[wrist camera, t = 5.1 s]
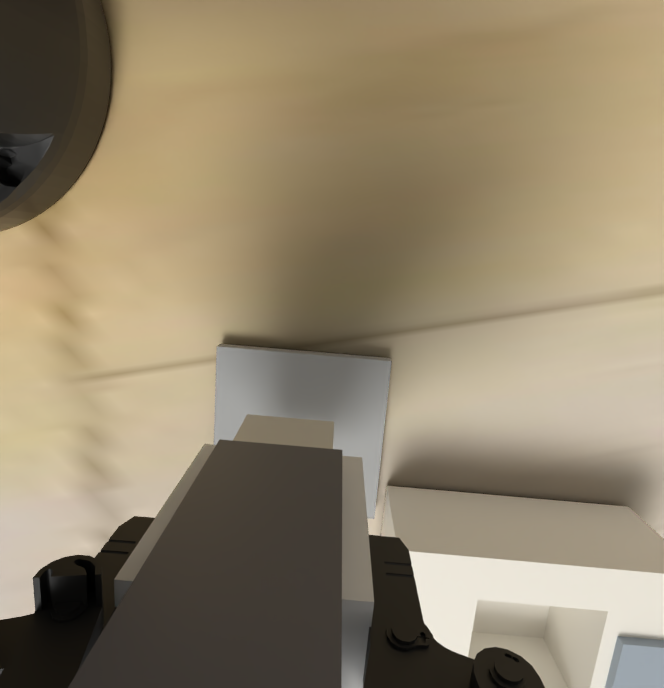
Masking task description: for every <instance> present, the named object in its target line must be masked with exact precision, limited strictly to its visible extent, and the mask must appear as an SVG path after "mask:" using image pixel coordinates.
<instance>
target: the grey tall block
mask: <svg viewBox="0 0 664 688" xmlns="http://www.w3.org/2000/svg"><path fill="white" fill-rule="evenodd" d="M333 438H334V422H333V421H321V420H309V419H298V418H286V417H274V416H262V415H250V414H247V415H246V417H245V419H244V421H243V423H242V425H241V426H240V428H239V430H238V432H237V434H236V436H235V438H234V439H233V440H221V439H219V441H218V443H217V444H216V446H215V448H214V449H213V451H212V453H211V454H210V456H209V457H208V459H207V461H206V462H205V464H204V466H203V467H202V469H201V471H200V472H199V474H198V476H197V477H196V479H195V480H194V482H193V484H192V485H191V487H190V489H189V490H188V492H187V494H186V495H185V497H184V498H183V500H182V502H181V503H180V505H179V507H178V508H177V510H176V512H175V513H174V515H173V516H172V518H171V520H170V521H169V523H168V525H167V526H166V528H165V530H164V531H163V533H162V535H161V536H160V538H159V539H158V541H157V543H156V544H155V546H154V548H153V549H152V551H151V553H150V554H149V556H148V557H147V559H146V561H145V562H144V564H143V566H142V567H141V569H140V571H139V572H138V574H137V575H136V577H135V579H134V580H133V582H132V584H131V585H130V587H129V589H128V590H127V592H126V594H125V595H124V597H123V598H122V600H121V602H120V603H119V605H118V607H117V608H116V610H115V612H114V613H113V615H112V616H111V618H110V620H109V621H108V623H107V625H106V626H105V628H104V630H103V631H102V633H101V634H100V636H99V638H98V639H97V641H96V643H95V644H94V646H93V648H92V649H91V651H90V653H89V654H88V656H87V657H86V659H85V661H84V662H83V664H82V666H81V667H80V669H79V671H78V672H77V674H76V675H75V677H74V679H73V680H72V682H71V684H70V685H69V687H68V688H341V668H342V450H339V449H333Z"/></svg>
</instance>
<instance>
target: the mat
mask: <svg viewBox="0 0 664 688" xmlns="http://www.w3.org/2000/svg"><path fill="white" fill-rule="evenodd" d="M391 363H392V361H391V358H383V357H372V356H360V355H348V354H336V353H324V352H312V351H300V350H288V349H277V348H265V347H253V346H241V345H229V344H219V345H218V346H217V358H216V392H215V426H214V445H216V444H217V443H218V441H219V439H221V440H233V439H234V438H235V436H236V434H237V432H238V430H239V428H240V426H241V425H242V423H243V421H244V419H245V417H246V415H247V414H250V415H262V416H274V417H286V418H298V419H309V420H321V421H333V422H334V438H333V449H339V450H342V456H352V457H362V462H363V474H364V486H365V498H366V510H367V518H370V519H374V516H375V507H376V498H377V489H378V480H379V471H380V462H381V453H382V444H383V435H384V426H385V417H386V408H387V399H388V390H389V381H390V372H391Z"/></svg>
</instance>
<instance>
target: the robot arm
mask: <svg viewBox="0 0 664 688" xmlns="http://www.w3.org/2000/svg"><path fill="white" fill-rule="evenodd" d="M110 83H111V57H110V45H109V37H108V31H107V26H106V20H105V16H104V12H103V8H102V5H101V2H100V0H0V231H3V230H7V229H10V228H12V227H15V226H18V225H20V224H22V223H24V222H26V221H28V220H30V219H32V218H34V217H36V216H37V215H39V214H41V213H42V212H43V211H45V210H46V209H48V208H49V207H50V206H51V205H53V204H54V203H55V202H56V201H57V200H59V199H60V198H61V197H62V196H63V195H64V194H65V193H66V192H67V191H68V189H69V188H70V187H71V186H72V185H73V183H74V182H75V181H76V180H77V178H78V177H79V175H80V174H81V173H82V171H83V170H84V168H85V166H86V165H87V163H88V161H89V160H90V157H91V155H92V153H93V151H94V149H95V147H96V145H97V142H98V140H99V137H100V134H101V131H102V128H103V125H104V121H105V117H106V112H107V108H108V101H109V95H110ZM215 446H216V445H210V444H204V446H203V447H202V449H201V450H200V452H199V453H198V455H197V456H196V458H195V459H194V461H193V462H192V464H191V465H190V467H189V468H188V470H187V471H186V473H185V474H184V476H183V477H182V478H181V480H180V481H179V483H178V484H177V486H176V487H175V489H174V490H173V492H172V493H171V495H170V496H169V498H168V499H167V501H166V502H165V504H164V505H163V507H162V508H161V510H160V511H159V513H158V514H157V516H156V517H155V518H149V517H137V516H134V517H133V518H131V519H130V520H128V521H127V522H125V523H124V524H122V525H121V526H119V527H118V528H117V530H116V531H115V532H114V534H113V535H112V536H111V537H110V539H109V542H107V543H106V544H105V545H104V547H103V548H102V549H101V552H99V553H98V554H97V556H96V557H95V558H93V557H91V556H85V555H75V556H69V557H64V558H61V559H59V560H56V561H53V562H51V563H50V564H48V565H46V566H45V567H43V568H42V569H40V571H39V572H38V573H37V574H36V575H35V576H34V577H33V585H34V598H35V613H34V614H30V615H26V616H22V617H16V618H10V619H4V620H0V688H68V687H69V685H70V684H71V682H72V680H73V679H74V677H75V675H76V674H77V672H78V671H79V669H80V667H81V666H82V664H83V662H84V661H85V659H86V657H87V656H88V654H89V653H90V651H91V649H92V648H93V646H94V644H95V643H96V641H97V639H98V638H99V636H100V634H101V633H102V631H103V630H104V628H105V626H106V625H107V623H108V621H109V620H110V618H111V616H112V615H113V613H114V612H115V610H116V608H117V607H118V605H119V603H120V602H121V600H122V598H123V597H124V595H125V594H126V592H127V590H128V589H129V587H130V585H131V584H132V582H133V580H134V579H135V577H136V575H137V574H138V572H139V571H140V569H141V567H142V566H143V564H144V562H145V561H146V559H147V557H148V556H149V554H150V553H151V551H152V549H153V548H154V546H155V544H156V543H157V541H158V539H159V538H160V536H161V535H162V533H163V531H164V530H165V528H166V526H167V525H168V523H169V521H170V520H171V518H172V516H173V515H174V513H175V512H176V510H177V508H178V507H179V505H180V503H181V502H182V500H183V498H184V497H185V495H186V494H187V492H188V490H189V489H190V487H191V485H192V484H193V482H194V480H195V479H196V477H197V476H198V474H199V472H200V471H201V469H202V467H203V466H204V464H205V462H206V461H207V459H208V457H209V456H210V454H211V453H212V451H213V449H214V448H215ZM341 688H545V687H544V685H543V682H542V680H541V678H540V677H539V675H538V674H537V672H536V671H535V669H534V668H533V666H532V665H531V664H530V663H528V662H527V661H526V660H525V659H524V658H523V657H521V656H520V655H518V654H516V653H514V652H512V651H510V650H508V649H503V648H499V647H491V648H484V649H483V650H481V651H480V652H479V653H477V655H476V657H475V659H472V658H469V657H466V656H464V655H461V654H458V653H456V652H454V651H451V650H449V649H447V648H445V647H444V646H443V645H441V644H440V643H438V642H437V641H436V640H435V639H434V638H433V634H432V633H431V632H430V630H429V629H428V627H427V626H426V625H425V624H424V621H423V616H422V611H421V607H420V602H419V597H418V592H417V587H416V582H415V578H414V573H413V568H412V563H411V558H410V554H409V550H408V548H407V547H406V546H405V545H404V543H403V542H402V541H401V539H400V538H398V537H386V536H375V535H369V534H368V522H367V510H366V498H365V486H364V474H363V462H362V457H352V456H342V668H341Z"/></svg>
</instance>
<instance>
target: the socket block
mask: <svg viewBox="0 0 664 688" xmlns="http://www.w3.org/2000/svg"><path fill="white" fill-rule="evenodd" d="M381 536H386V537H398V538H400V539H401V541H402V542H403V543H404V545H405V546H406V547H407V548H408V550H409V554H410V558H411V563H412V568H413V573H414V578H415V582H416V587H417V592H418V597H419V602H420V607H421V611H422V616H423V621H424V624H425V625H426V626H427V627H428V629H429V630H430V632H431V633H432V634H433V638H434V639H435V640H436V641H437V642H438V643H440V644H441V645H443V646H444V647H445V648H447V649H449V650H451V651H454V652H456V653H458V654H461V655H464V656H466V657H469V658H472V659H475V657H476V655H477V653H479V652H480V651H481V650H483V649H484V648H491V647H499V648H503V649H508V650H510V651H512V652H514V653H516V654H518V655H520V656H521V657H523V658H524V659H525V660H526V661H527V662H528V663H530V664H531V665H532V666H533V668H534V669H535V671H536V672H537V674H538V675H539V677H540V678H541V680H542V682H543V685H544V687H545V688H664V539H663V538H662V537H661V536H660V535H659V534H658V533H657V532H656V531H655V530H654V529H652V528H651V527H650V526H649V525H648V524H647V523H646V522H645V521H644V520H643V519H642V518H640V517H639V516H638V515H637V514H636V513H635V512H634V511H633V510H632V509H631V508H630V507H627V506H615V505H603V504H592V503H580V502H569V501H557V500H546V499H534V498H523V497H511V496H500V495H488V494H477V493H465V492H454V491H442V490H431V489H419V488H407V487H396V486H386V494H385V503H384V512H383V521H382V529H381Z"/></svg>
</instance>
